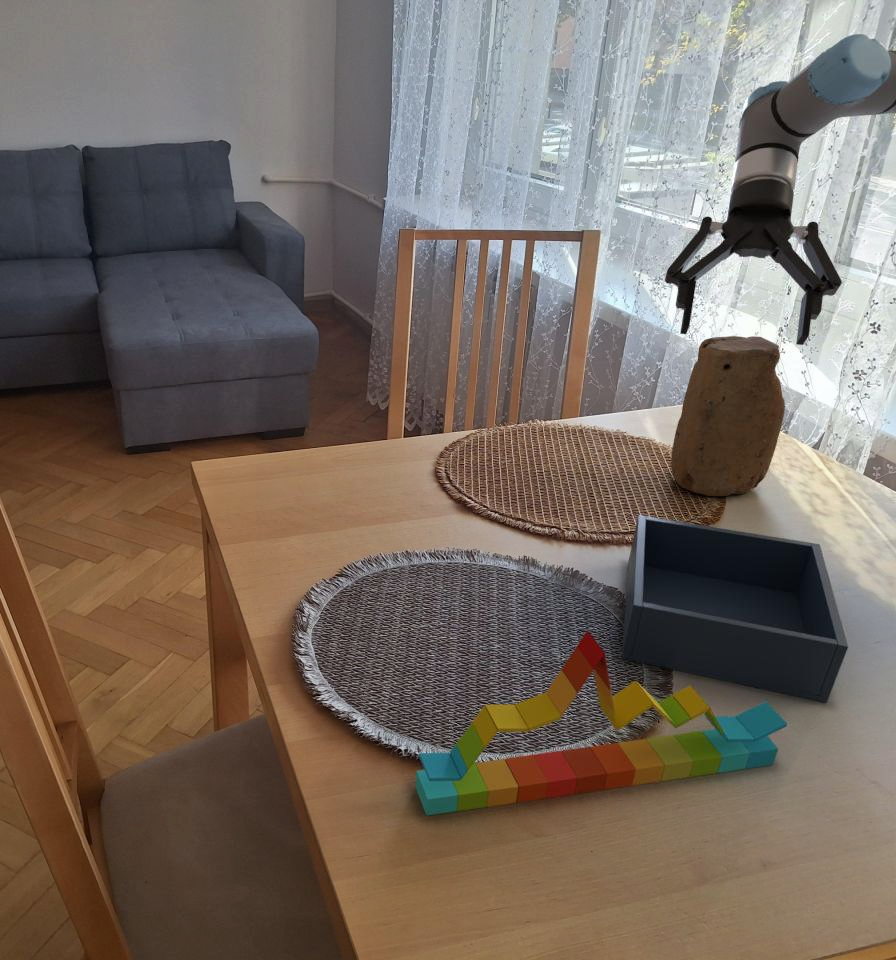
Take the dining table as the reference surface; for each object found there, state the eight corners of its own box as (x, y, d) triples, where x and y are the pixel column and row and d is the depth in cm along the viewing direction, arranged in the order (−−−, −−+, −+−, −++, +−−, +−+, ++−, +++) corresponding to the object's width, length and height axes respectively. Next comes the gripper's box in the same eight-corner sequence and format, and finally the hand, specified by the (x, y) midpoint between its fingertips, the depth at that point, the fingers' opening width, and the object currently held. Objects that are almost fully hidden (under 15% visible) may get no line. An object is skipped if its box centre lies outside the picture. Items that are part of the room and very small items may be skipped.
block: (678, 496, 112) (712, 351, 102) (663, 469, 118) (693, 330, 109) (767, 500, 110) (810, 353, 100) (747, 473, 117) (786, 332, 107)
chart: (748, 736, 75) (794, 599, 68) (772, 764, 73) (823, 624, 65) (414, 784, 72) (425, 645, 65) (426, 816, 69) (439, 674, 62)
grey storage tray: (802, 595, 93) (819, 543, 90) (827, 703, 79) (848, 647, 75) (627, 563, 99) (638, 514, 96) (621, 658, 85) (633, 604, 82)
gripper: (860, 213, 115) (844, 357, 110) (657, 204, 124) (635, 337, 119) (880, 179, 108) (865, 331, 103) (665, 172, 117) (641, 312, 112)
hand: (742, 335), depth 111 cm, fingers open, 13 cm apart
